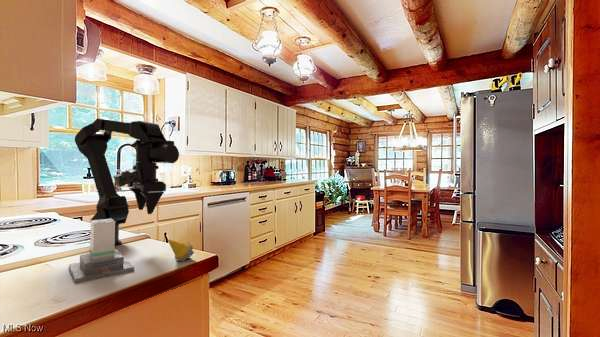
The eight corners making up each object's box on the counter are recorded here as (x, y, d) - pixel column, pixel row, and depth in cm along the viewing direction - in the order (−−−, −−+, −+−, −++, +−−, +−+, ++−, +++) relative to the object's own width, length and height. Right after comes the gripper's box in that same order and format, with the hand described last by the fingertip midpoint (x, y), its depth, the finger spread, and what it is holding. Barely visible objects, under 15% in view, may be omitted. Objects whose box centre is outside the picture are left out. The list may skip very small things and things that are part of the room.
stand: (69, 268, 74) (69, 254, 74) (122, 258, 82) (122, 246, 82) (75, 283, 65) (75, 268, 65) (134, 270, 74) (134, 257, 74)
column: (89, 255, 74) (90, 220, 74) (110, 251, 77) (111, 218, 77) (92, 260, 71) (93, 223, 70) (114, 256, 74) (115, 221, 74)
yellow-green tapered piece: (197, 262, 82) (173, 244, 76) (181, 268, 83) (157, 251, 77) (200, 247, 86) (178, 228, 80) (185, 253, 87) (162, 235, 82)
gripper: (109, 160, 91) (108, 209, 92) (124, 162, 78) (123, 219, 78) (147, 161, 99) (146, 207, 99) (167, 163, 86) (165, 215, 86)
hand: (145, 211), depth 90 cm, fingers open, 9 cm apart
